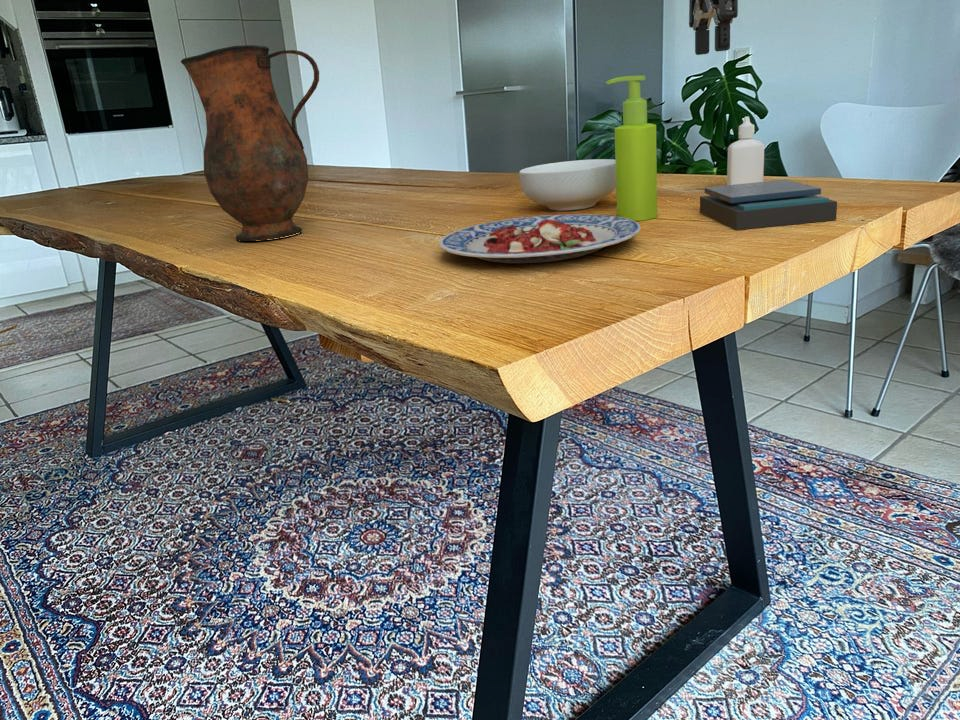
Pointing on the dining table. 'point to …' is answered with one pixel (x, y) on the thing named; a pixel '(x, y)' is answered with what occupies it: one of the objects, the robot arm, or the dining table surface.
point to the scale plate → (762, 191)
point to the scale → (769, 211)
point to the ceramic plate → (539, 237)
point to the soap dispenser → (635, 157)
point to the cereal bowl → (569, 183)
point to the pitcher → (251, 140)
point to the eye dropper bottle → (745, 157)
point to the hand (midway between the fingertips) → (711, 52)
